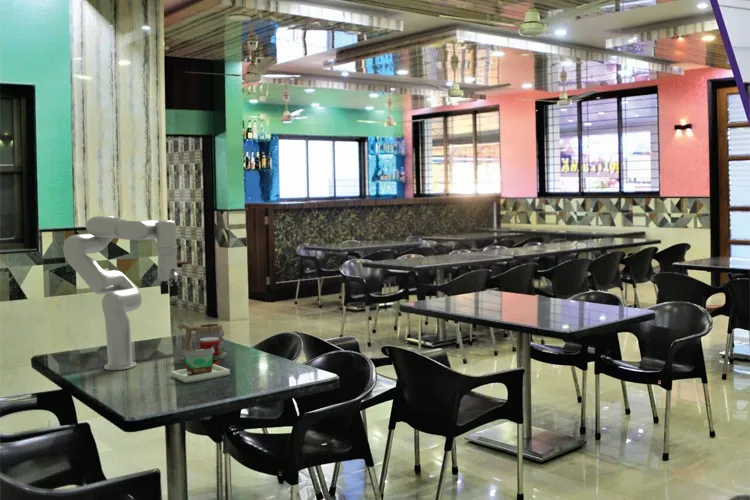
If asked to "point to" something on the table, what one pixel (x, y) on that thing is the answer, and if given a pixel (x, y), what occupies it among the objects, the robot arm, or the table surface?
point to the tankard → (204, 335)
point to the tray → (216, 372)
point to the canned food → (208, 343)
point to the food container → (198, 361)
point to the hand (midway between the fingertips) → (169, 294)
